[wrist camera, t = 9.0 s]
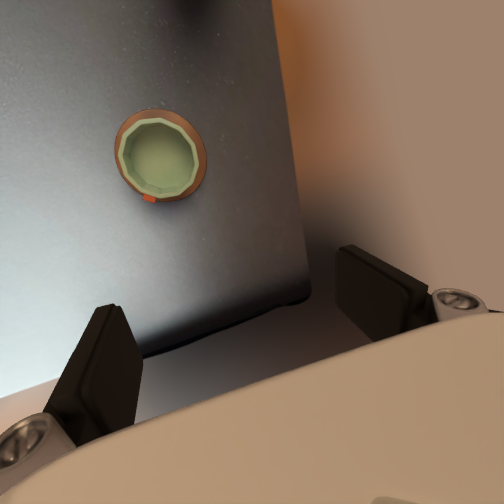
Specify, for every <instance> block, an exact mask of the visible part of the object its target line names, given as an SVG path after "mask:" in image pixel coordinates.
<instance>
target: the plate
mask: <svg viewBox="0 0 504 504" xmlns="http://www.w3.org/2000/svg"><path fill="white" fill-rule="evenodd" d="M151 118H163V119H165V120H167V121H169V122H172V123H174V124H176V125H178V126H180V127H182V128H183V130H184V131H185V132H186V134H187V135H188V136H189V137H190V139H191V140H192V141H193V142H194V144H195V146H196V151H197V156H198V161H199V167H198V170H197V173H196V176H195V179H194V182H193V184H192V185H191V186H189V187H188V188H187V189H186V190H185V191H184V192H182V193H181V194H180V195H178V196H172V197H166V198H157V197H156V201H163V202H170V201H176V200H180V199H182V198H185V197H186V196H188V195H190V194H191V193H192V192H193V191H195V189H196V188H197V187H198V186H199V185H200V183H201V181H202V179H203V177H204V174H205V171H206V164H207V158H206V150H205V147H204V144H203V141H202V139H201V137H200V135H199V134H198V132H197V131H196V130H195V128H194V127H193V126H192V125H191V124H190V123H189V122H188V121H187V120H185V119H184V118H183V117H181V116H179V115H177V114H175V113H173V112H170V111H167V110H162V109H148V110H143V111H140V112H138V113H136V114H134V115H132V116H131V117H130V118H128V119H127V120H126V121H125V122H124V124H123V125H122V126H121V128H120V130H119V132H118V134H117V137H116V141H115V148H114V149H115V159H116V163H117V166H118V169H119V171H120V173H121V175H122V176H123V178H124V180H125V181H126V182H127V183H128V184H129V185H130V186H131V187H132V188H133V189H134V190H135V191H136V192H138V193H139V194H141V195H144V193H142V192H140V191H139V190H138V189H137V188H136V187H135V186H134V185H133V184H132V183H131V182H130V181H129V180H128V179H127V178H126V177H125V176H124V173H123V170H122V167H121V164H120V161H119V158H118V151H119V147H120V143H121V139H122V134H123V133H124V132H125V131H126V130H128V129H129V128H130V127H131V126H132V125H133V124H134V123H136V122H137V121H138V120H142V119H151Z"/></svg>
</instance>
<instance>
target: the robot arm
mask: <svg viewBox="0 0 504 504" xmlns="http://www.w3.org/2000/svg"><path fill="white" fill-rule="evenodd" d="M427 291H428V285H426V284H424V283H423V282H421V281H419V280H417V279H415V278H413V277H412V276H410V275H408V274H406V273H404V272H402V271H401V270H399V269H397V268H395V267H393V266H391V265H390V264H388V263H386V262H384V261H382V260H380V259H379V258H377V257H375V256H373V255H371V254H369V253H368V252H366V251H364V250H362V249H360V248H358V247H356V246H355V245H347V246H343V247H340V248H339V250H338V251H337V252H336V274H335V301H336V304H337V306H338V308H339V309H340V310H341V311H342V312H343V313H344V314H346V316H347V317H348V318H350V320H351V321H352V322H353V323H355V324H356V325H357V326H358V327H359V328H360V329H361V330H362V331H363V332H364V333H365V334H366V335H367V336H368V337H369V338H370V339H371V340H372V341H373V342H374V343H371V344H368V345H365V346H362V347H359V348H356V349H353V350H350V351H347V352H344V353H341V354H338V355H335V356H332V357H329V358H326V359H323V360H320V361H317V362H314V363H311V364H308V365H305V366H302V367H299V368H296V369H293V370H291V371H287V372H284V373H281V374H278V375H276V376H273V377H270V378H267V379H264V380H261V381H258V382H255V383H252V384H249V385H247V386H243V387H241V388H237V389H235V390H232V391H229V392H226V393H223V394H220V395H217V396H214V397H212V398H208V399H205V400H203V401H200V402H197V403H194V404H191V405H188V406H185V407H183V408H180V409H177V410H174V411H171V412H168V413H165V414H162V415H159V416H156V417H153V418H151V419H148V420H145V421H142V422H139V423H137V424H134V421H135V414H136V408H137V402H138V396H139V389H140V383H141V376H142V370H143V358H142V355H141V353H140V350H139V348H138V346H137V343H136V341H135V338H134V336H133V334H132V331H131V329H130V326H129V324H128V322H127V319H126V317H125V315H124V312H123V310H122V308H121V306H116V305H115V304H109V305H105V306H101V307H97V308H96V309H95V311H94V313H93V315H92V317H91V319H90V321H89V323H88V325H87V327H86V329H85V331H84V333H83V335H82V337H81V339H80V341H79V343H78V345H77V347H76V349H75V350H74V352H73V353H72V355H71V357H70V359H69V361H68V363H67V365H66V367H65V369H64V371H63V373H62V375H61V377H60V379H59V381H58V382H57V385H56V386H55V388H54V390H53V392H52V394H51V396H50V398H49V400H48V402H47V404H46V406H45V408H44V410H43V412H42V413H37V414H33V415H31V416H29V417H26V418H24V419H22V420H20V421H19V422H17V423H15V424H14V425H12V426H11V427H10V428H8V429H7V430H6V431H5V432H3V433H2V434H1V435H0V504H504V312H500V311H494V310H488V309H487V307H486V305H485V303H484V302H483V301H482V300H481V299H480V298H479V297H477V296H476V295H474V294H471V293H469V292H466V291H462V290H459V289H453V288H443V289H438V290H435V291H434V292H433V293H432V295H430V294H428V293H427Z"/></svg>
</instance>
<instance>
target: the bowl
mask: <svg viewBox="0 0 504 504" xmlns="http://www.w3.org/2000/svg"><path fill="white" fill-rule="evenodd" d="M118 158H119V161H120V164H121V167H122V170H123V173H124V176H125V177H126V178H127V179H128V180H129V181H130V182H131V183H132V184H133V185H134V186H135V187H136V188H137V189H138V190H139V191H140V192H142V193H144V195H143V200H146V201H149V202H152V203H155V201H156V197H157V198H166V197H172V196H178V195H180V194H181V193H182V192H184V191H185V190H186V189H187V188H188V187H189V186H191V185H192V184H193V182H194V179H195V176H196V173H197V170H198V167H199V161H198V156H197V151H196V146H195V144H194V142H193V141H192V140H191V139H190V137H189V136H188V135H187V134H186V132H185V131H184V130H183V128H182V127H180V126H178V125H176V124H174V123H172V122H169V121H167V120H165V119H163V118H151V119H142V120H138V121H137V122H136V123H134V124H133V125H132V126H131V127H130V128H129V129H128V130H126V131H125V132H124V133H123V134H122V139H121V143H120V147H119V151H118Z"/></svg>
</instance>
